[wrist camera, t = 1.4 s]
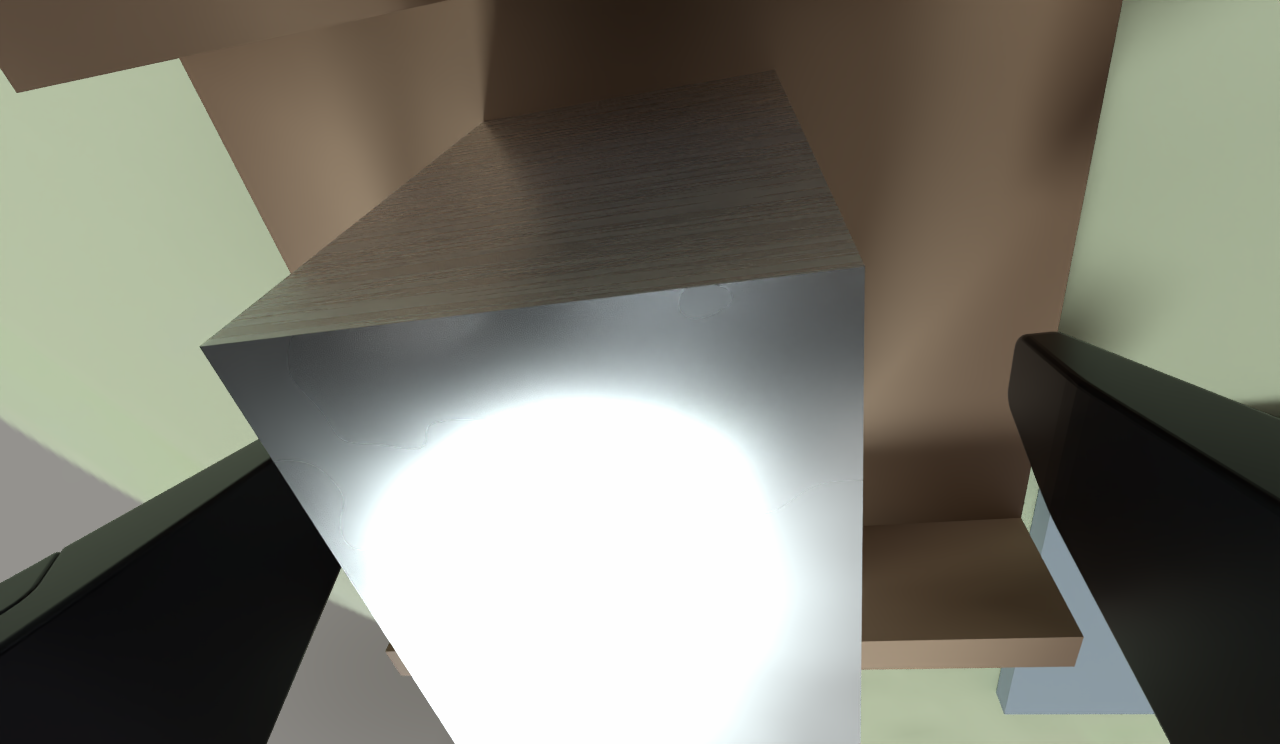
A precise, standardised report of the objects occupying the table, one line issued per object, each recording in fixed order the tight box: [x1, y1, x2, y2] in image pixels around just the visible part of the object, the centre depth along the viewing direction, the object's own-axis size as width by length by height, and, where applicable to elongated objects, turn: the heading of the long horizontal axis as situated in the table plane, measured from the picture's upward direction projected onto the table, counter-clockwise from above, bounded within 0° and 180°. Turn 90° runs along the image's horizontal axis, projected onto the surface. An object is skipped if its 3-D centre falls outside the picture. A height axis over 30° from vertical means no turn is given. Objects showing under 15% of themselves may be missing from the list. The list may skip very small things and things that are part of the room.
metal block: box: [200, 70, 865, 744], centre depth 8 cm, size 4×7×6 cm, turn 10°
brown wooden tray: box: [0, 0, 1123, 676], centre depth 10 cm, size 12×12×4 cm
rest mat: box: [996, 488, 1154, 714], centre depth 14 cm, size 8×9×1 cm
